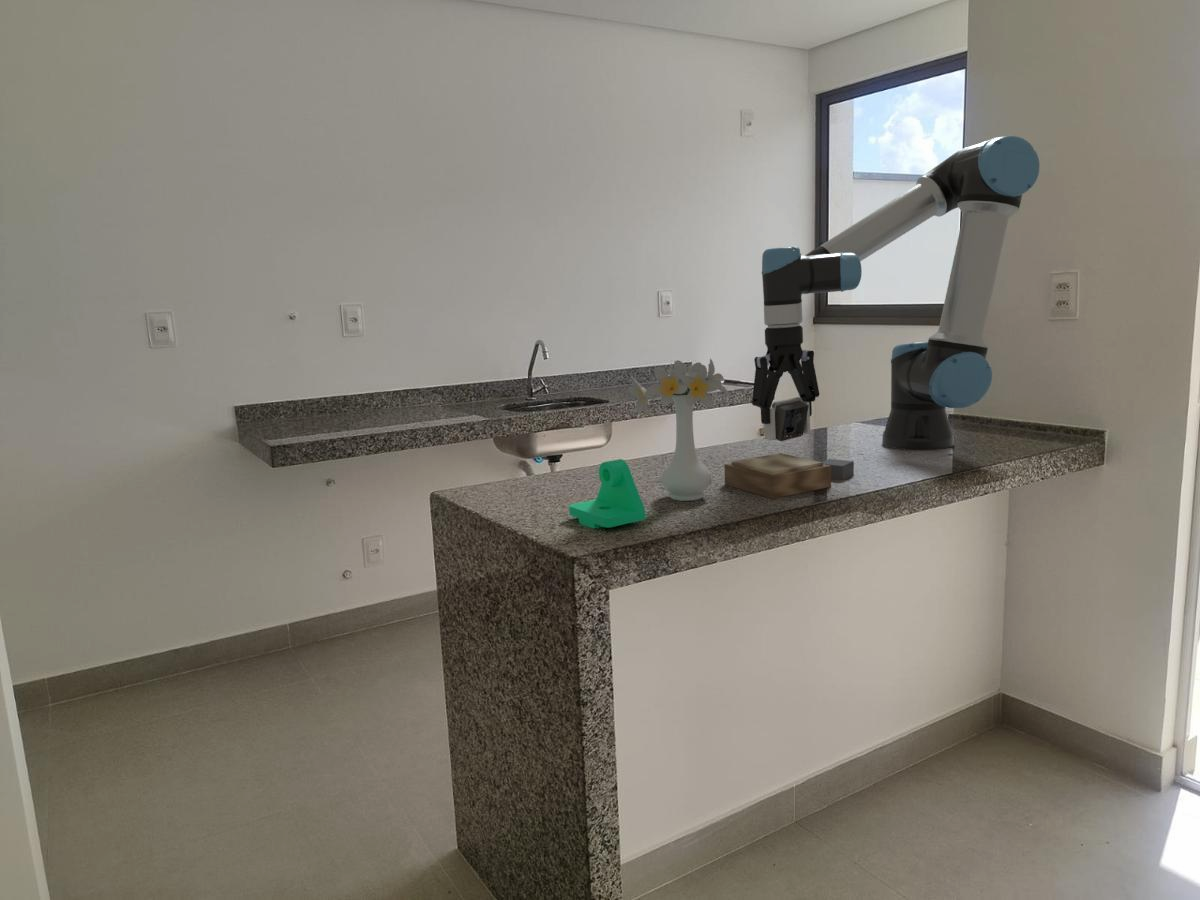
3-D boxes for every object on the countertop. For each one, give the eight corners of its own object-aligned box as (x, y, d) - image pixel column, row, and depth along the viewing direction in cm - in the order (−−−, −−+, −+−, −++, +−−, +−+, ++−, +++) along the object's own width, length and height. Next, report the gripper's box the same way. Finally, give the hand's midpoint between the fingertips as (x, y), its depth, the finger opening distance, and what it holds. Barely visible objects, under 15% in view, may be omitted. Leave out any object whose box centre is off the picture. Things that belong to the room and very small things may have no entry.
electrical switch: (792, 433, 183) (794, 395, 180) (809, 437, 179) (811, 398, 177) (765, 440, 178) (766, 401, 176) (782, 445, 174) (783, 405, 172)
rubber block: (829, 473, 172) (829, 458, 172) (853, 476, 169) (853, 461, 169) (818, 478, 169) (818, 463, 168) (842, 481, 166) (842, 466, 165)
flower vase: (623, 499, 159) (617, 363, 154) (705, 484, 167) (702, 355, 162) (661, 513, 147) (656, 367, 143) (747, 497, 156) (745, 358, 151)
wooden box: (781, 474, 173) (781, 451, 172) (831, 486, 161) (831, 462, 160) (724, 484, 166) (724, 461, 165) (772, 498, 154) (771, 473, 153)
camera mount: (567, 520, 147) (564, 461, 145) (604, 512, 151) (601, 454, 149) (607, 534, 137) (604, 471, 135) (645, 525, 141) (643, 464, 139)
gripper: (810, 320, 182) (814, 426, 186) (729, 330, 172) (735, 441, 177) (836, 321, 175) (839, 430, 180) (753, 330, 166) (758, 446, 170)
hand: (787, 435), depth 178 cm, fingers closed on electrical switch, 8 cm apart
